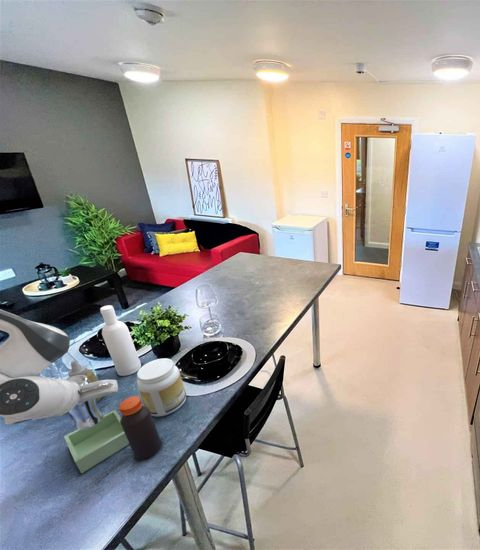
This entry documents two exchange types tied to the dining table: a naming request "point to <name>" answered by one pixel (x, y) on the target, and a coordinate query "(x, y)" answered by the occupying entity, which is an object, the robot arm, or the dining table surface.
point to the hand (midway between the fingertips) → (80, 399)
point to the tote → (97, 441)
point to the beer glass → (85, 408)
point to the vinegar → (139, 428)
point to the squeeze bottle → (83, 373)
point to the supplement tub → (161, 387)
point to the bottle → (119, 343)
